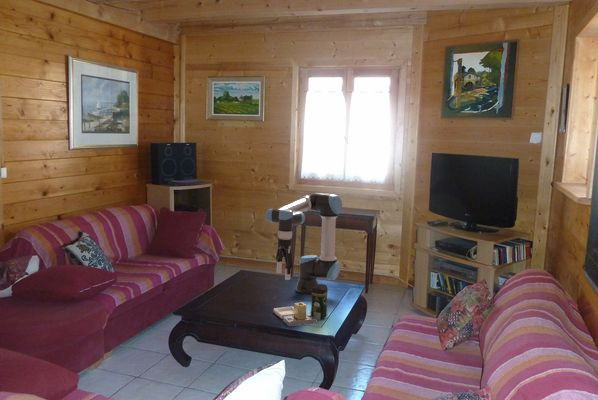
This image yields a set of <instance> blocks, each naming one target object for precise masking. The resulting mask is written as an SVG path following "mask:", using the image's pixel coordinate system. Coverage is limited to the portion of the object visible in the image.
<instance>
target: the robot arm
mask: <svg viewBox="0 0 598 400" xmlns="http://www.w3.org/2000/svg"><path fill="white" fill-rule="evenodd" d="M342 210H343V200H342V198H341V197H340V196H339V195H338V194H333V193H325V192H324V193H322V192H313V193H310V194H309V193H308V194H306V195H303V196H301V197H299V198H298V199H297V200H295V201H292V202H291V203H288V204H286V205H283V206H280V207H277V208H269V209H267V210H266V212H265V220H266V221H267V222H271V223H275V224H276V223H277V224H278V232H277V237H278V238H277V245H278V246H277V251H276V255H275V260H276V274H282V273H283V272H282V271H283V269H282V268H283V259H284V262H285V269H284V271H285V273H284V274H285V275H284V280H285V281H290V280H291V272H292V268H293V267H294V266H293V258H292V249H290V248H289V247H291V246H292V244H293V243H292V241H293V239H292V238H293V227H296V226H300V225H302V224H303V223H305V221H306V215H305V214H304V213H303V212H308V211H310V212H311V211H313V212H317V213H318V212H319V217H320V218H321V238H320V239H321V241H320V245H321V246H320V256H319V255H316V254H309V255H302V256H301V257H300V258H299V264H298V265H299V267H298V268H299V269H298V271H299V272H298V275H299V276H298V280H297V283H296V285H295V291H296V292H297V293H299V294H305V295H312V287H314V286H316V285H318V284H319V282H318V279H319V278H321V279H323V280H324V279H325V280H331V281H333V280H336V279H337V278H338V276H339V274H340V272H341V263H340V262H339V261H338V257H336V255H335V253H336V222H337V220H336V219H337V218H338V217H339V215H340V214H342V213H341V212H342Z"/></svg>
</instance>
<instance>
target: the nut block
mask: <svg viewBox="0 0 598 400" xmlns="http://www.w3.org/2000/svg"><path fill="white" fill-rule="evenodd" d="M293 307H294V318H295V319H296V320H305V319H306V314H307V308H308V307H307V304H305V302H302V301H301V302H295V303H294V305H293Z"/></svg>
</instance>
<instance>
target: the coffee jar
mask: <svg viewBox="0 0 598 400" xmlns="http://www.w3.org/2000/svg"><path fill="white" fill-rule="evenodd" d="M327 308H328V286H327V285H326V284H323V283H318V285H316V286H314V287H312V294H311V309H310V314H311V315H312V316H314V317H315V318H316V321H322V320H323V321H324V319H326V318H327V316H328V315H327V314H328V309H327Z"/></svg>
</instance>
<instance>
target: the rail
mask: <svg viewBox="0 0 598 400" xmlns="http://www.w3.org/2000/svg"><path fill="white" fill-rule="evenodd" d="M282 321H283V323H285V324H286V326H288V327H293V326H302V325H311V324H317V320H316V318H315V317H314V316H312V315H311V313H306V319H305V320H296V319H295V318H294V316H286V317H283V319H282Z"/></svg>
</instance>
